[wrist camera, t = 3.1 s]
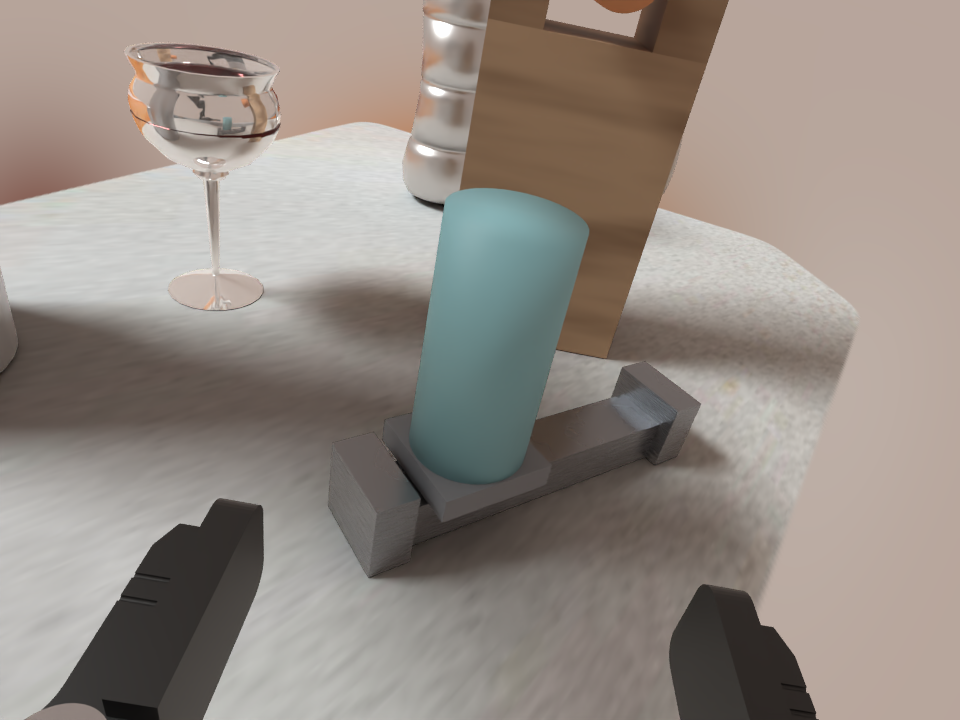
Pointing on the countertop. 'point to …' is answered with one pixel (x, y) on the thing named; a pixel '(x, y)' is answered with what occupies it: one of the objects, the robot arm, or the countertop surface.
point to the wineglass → (206, 138)
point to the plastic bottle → (445, 96)
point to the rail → (574, 457)
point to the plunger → (624, 5)
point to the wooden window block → (589, 133)
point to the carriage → (488, 348)
